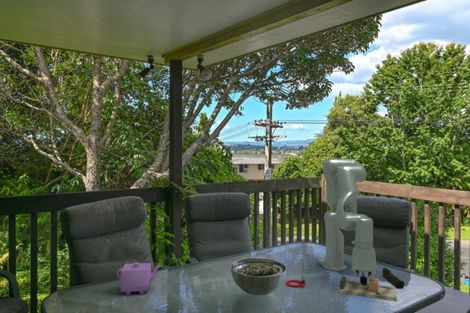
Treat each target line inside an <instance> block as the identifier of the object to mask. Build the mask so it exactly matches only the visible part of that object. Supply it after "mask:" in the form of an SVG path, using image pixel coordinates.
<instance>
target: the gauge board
mask: <svg viewBox="0 0 470 313" xmlns="http://www.w3.org/2000/svg"><path fill="white" fill-rule="evenodd" d="M368 285H369V283H367V284H366V285H365V286H364V284H363V286H362V283H360V281H353V280H347V277H346V276H341V277H340V279H339V285H338V288H337V293H341V294H345V295H346V294H347V295H353V296H358V297H366V298H373V299H380V300H387V301H392V302H397V298H398V297H397V288H396V286H395V287H393V286H388V285H381V284H378V292H376V291H374V292H372V291H369V290H368Z"/></svg>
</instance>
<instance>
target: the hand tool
mask: <svg viewBox="0 0 470 313" xmlns="http://www.w3.org/2000/svg"><path fill="white" fill-rule="evenodd" d="M382 276H383V277H384V279H387V280H388V281H389V282H391V284H393V285H394V286H395V288H396V289H401V290H402V289H404V287H405V281H403V280H402V279H400V278H398V276H395V275H394V274H393V273H392V272H391V270H390V269H389V268H387V267H383V268H382Z"/></svg>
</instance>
